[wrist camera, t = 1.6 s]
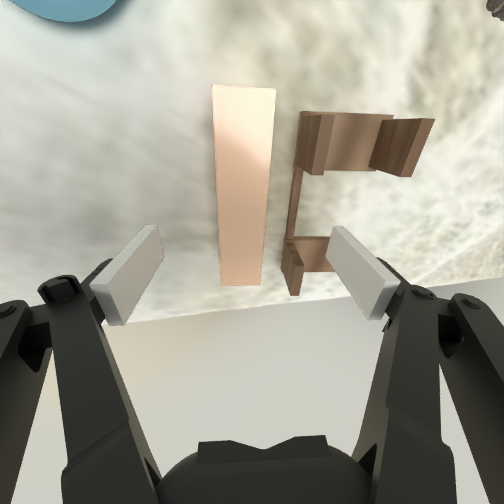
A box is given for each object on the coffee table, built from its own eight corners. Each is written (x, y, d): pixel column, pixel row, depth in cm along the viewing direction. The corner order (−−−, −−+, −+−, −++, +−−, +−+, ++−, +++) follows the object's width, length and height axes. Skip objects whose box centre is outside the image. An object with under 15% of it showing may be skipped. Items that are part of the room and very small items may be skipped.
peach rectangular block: (224, 252, 33) (221, 285, 26) (219, 97, 23) (211, 85, 16) (255, 252, 33) (260, 285, 27) (264, 99, 23) (276, 89, 16)
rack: (280, 268, 35) (290, 298, 29) (300, 111, 24) (323, 107, 17) (340, 267, 36) (361, 296, 30) (387, 115, 24) (438, 112, 18)
